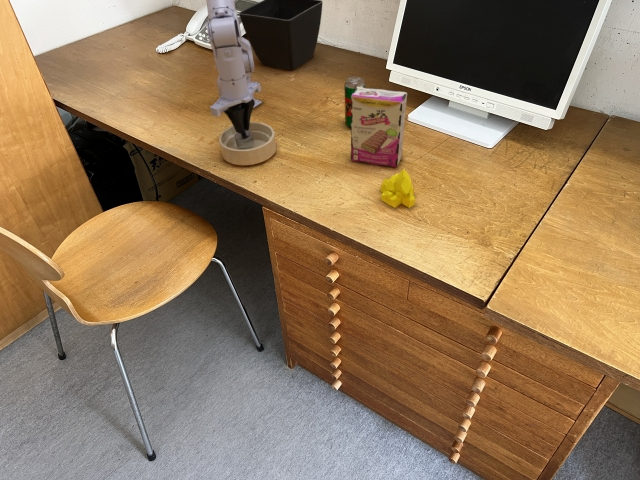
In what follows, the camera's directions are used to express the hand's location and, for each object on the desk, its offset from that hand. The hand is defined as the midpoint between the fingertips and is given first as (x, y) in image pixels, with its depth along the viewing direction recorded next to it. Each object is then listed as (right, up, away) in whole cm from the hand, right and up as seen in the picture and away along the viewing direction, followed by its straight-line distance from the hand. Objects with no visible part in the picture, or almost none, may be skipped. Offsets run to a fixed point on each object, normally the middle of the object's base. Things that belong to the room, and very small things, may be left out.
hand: (242, 130), depth 113 cm
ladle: (0, -3, +2) cm, 3 cm away
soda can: (+27, +4, +10) cm, 29 cm away
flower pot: (+8, +32, +42) cm, 54 cm away
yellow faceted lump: (+35, -17, -13) cm, 41 cm away
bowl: (+1, -5, +3) cm, 5 cm away
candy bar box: (+32, -8, -3) cm, 33 cm away
